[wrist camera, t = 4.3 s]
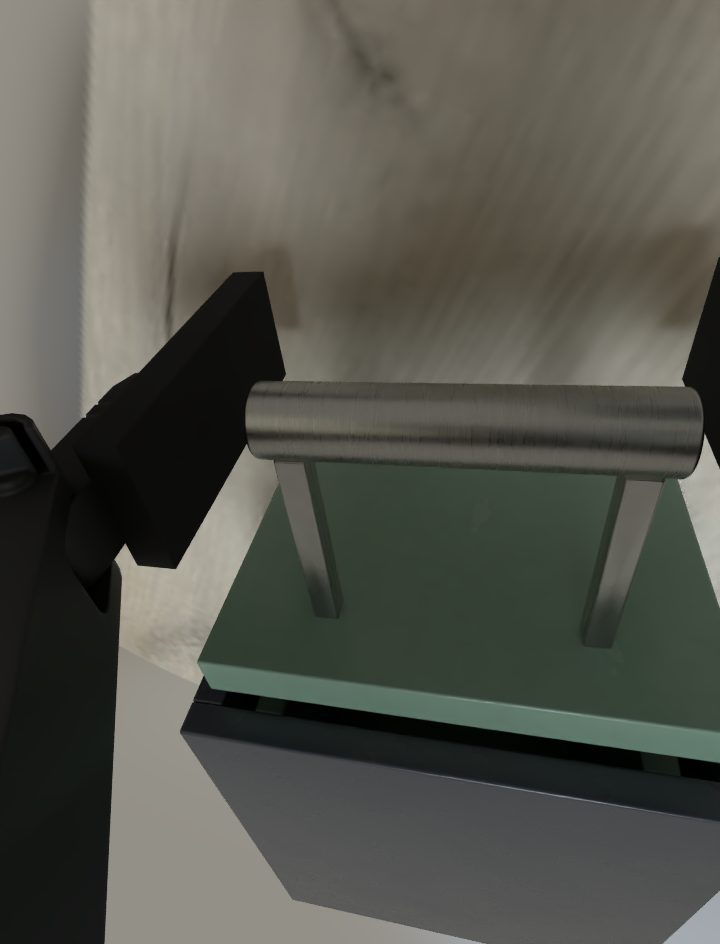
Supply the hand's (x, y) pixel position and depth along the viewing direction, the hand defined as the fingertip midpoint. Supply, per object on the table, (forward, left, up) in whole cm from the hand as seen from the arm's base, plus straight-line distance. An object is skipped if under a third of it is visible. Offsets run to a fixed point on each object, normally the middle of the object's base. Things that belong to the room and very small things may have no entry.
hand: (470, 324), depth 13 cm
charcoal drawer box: (0, +14, -2) cm, 14 cm away
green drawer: (0, +9, -1) cm, 9 cm away
